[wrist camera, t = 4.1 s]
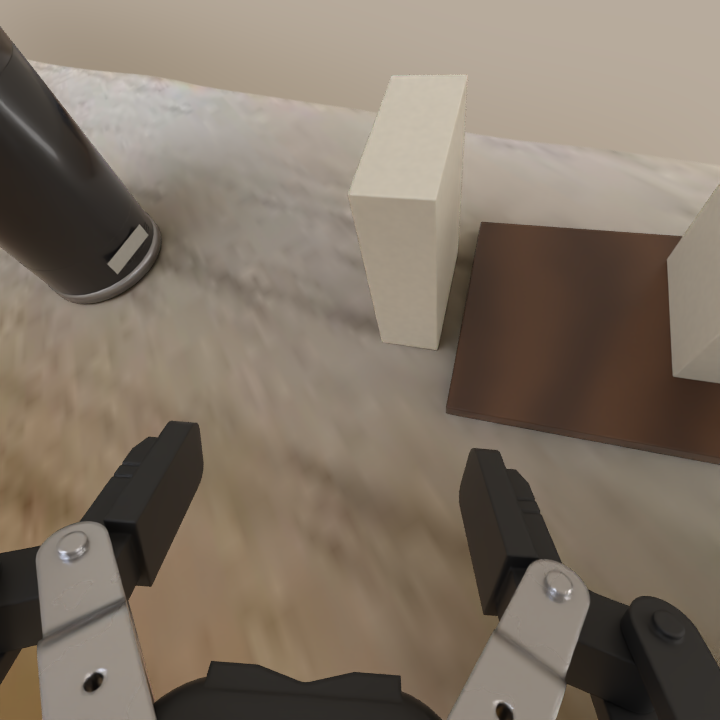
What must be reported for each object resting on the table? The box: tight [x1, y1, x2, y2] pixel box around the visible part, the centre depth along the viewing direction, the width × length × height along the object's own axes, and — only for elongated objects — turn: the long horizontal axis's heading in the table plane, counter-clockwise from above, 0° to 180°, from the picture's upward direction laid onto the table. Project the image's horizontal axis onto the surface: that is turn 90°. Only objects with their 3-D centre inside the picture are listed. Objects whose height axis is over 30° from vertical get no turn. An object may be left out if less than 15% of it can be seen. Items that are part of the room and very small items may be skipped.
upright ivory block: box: [348, 75, 468, 350], centre depth 24 cm, size 4×8×12 cm, turn 165°
